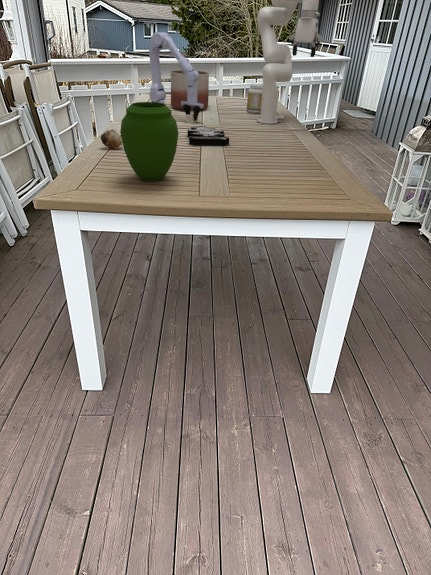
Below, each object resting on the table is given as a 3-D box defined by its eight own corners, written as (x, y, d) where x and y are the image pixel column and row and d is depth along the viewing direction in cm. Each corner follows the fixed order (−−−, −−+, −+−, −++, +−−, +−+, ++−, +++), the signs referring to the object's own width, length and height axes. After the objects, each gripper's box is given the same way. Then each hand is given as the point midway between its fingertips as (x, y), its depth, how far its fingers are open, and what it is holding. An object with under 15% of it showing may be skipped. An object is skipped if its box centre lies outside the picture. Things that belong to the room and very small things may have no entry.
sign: (189, 138, 189) (185, 125, 214) (189, 145, 190) (185, 131, 216) (230, 139, 191) (221, 126, 216) (230, 145, 193) (221, 132, 218)
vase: (131, 189, 135) (125, 110, 122) (118, 172, 150) (112, 100, 137) (186, 184, 142) (187, 109, 129) (169, 168, 157) (167, 99, 144)
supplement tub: (247, 109, 285) (249, 83, 276) (264, 111, 283) (267, 84, 274) (245, 112, 274) (248, 84, 265) (264, 114, 273) (266, 86, 264)
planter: (201, 105, 293) (202, 70, 281) (212, 111, 273) (214, 74, 261) (167, 105, 285) (166, 69, 274) (175, 111, 265) (175, 73, 253)
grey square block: (192, 123, 236) (192, 115, 234) (186, 122, 238) (186, 114, 236) (197, 122, 239) (197, 114, 237) (191, 121, 242) (191, 113, 239)
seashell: (124, 147, 182) (123, 128, 178) (122, 150, 177) (120, 130, 173) (103, 146, 182) (101, 127, 178) (100, 149, 177) (98, 129, 173)
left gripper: (206, 95, 230) (206, 120, 237) (186, 92, 237) (186, 117, 244) (199, 96, 225) (198, 122, 232) (178, 93, 232) (178, 118, 239)
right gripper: (328, 16, 194) (322, 57, 203) (295, 15, 202) (290, 54, 211) (322, 15, 189) (316, 57, 198) (289, 14, 197) (284, 55, 206)
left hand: (191, 119), depth 238 cm, fingers closed on grey square block, 4 cm apart
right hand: (303, 56), depth 205 cm, fingers open, 9 cm apart
